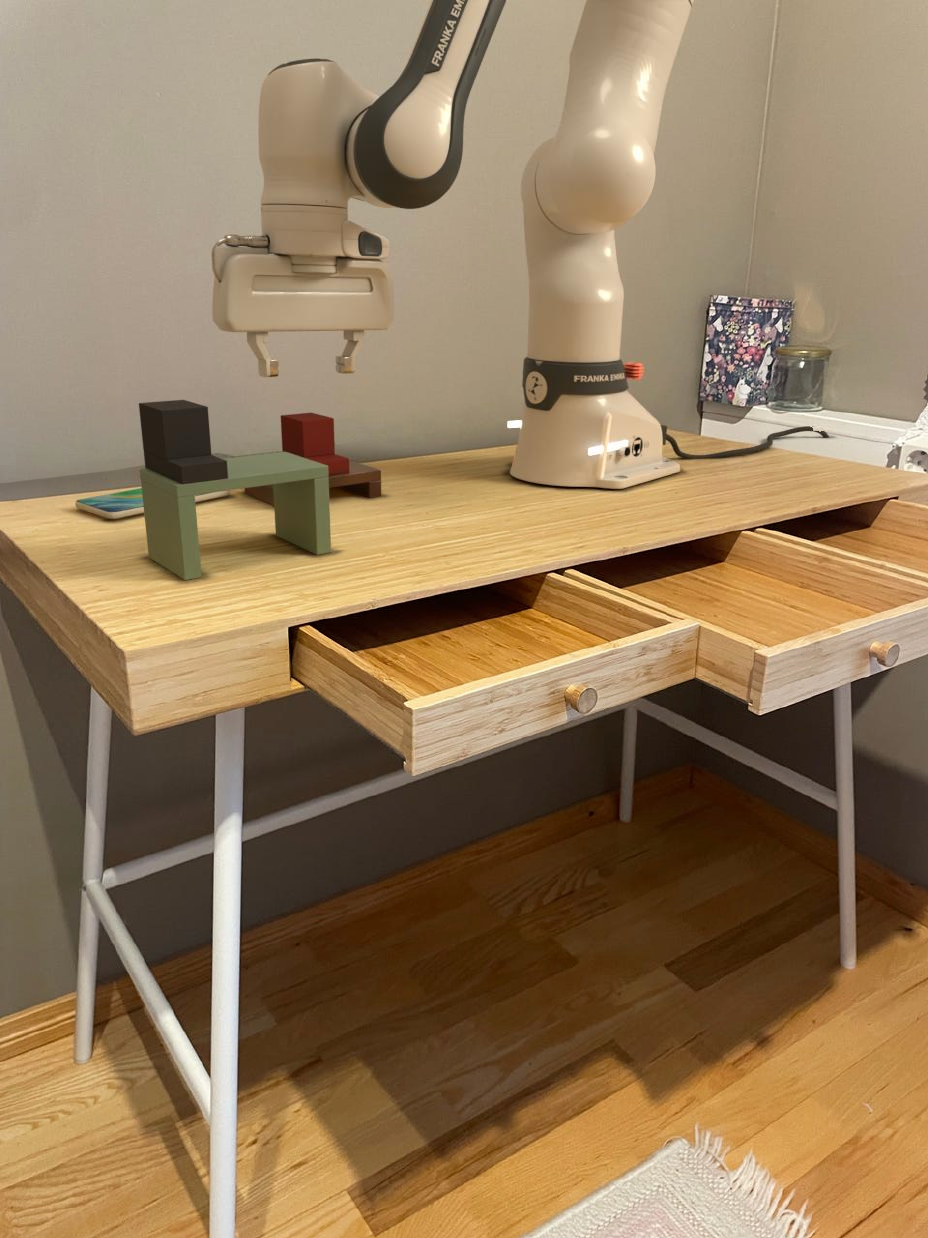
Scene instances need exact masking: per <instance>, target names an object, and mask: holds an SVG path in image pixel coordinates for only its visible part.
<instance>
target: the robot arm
mask: <svg viewBox="0 0 928 1238" xmlns="http://www.w3.org/2000/svg"><path fill="white" fill-rule="evenodd" d="M509 1H510V0H431V1H430V3H429V6H428V8H427V11H426V14H425V15H424V19H423V21H422V23H421V27H420V29H419V32H418V34H417V36H416V39H415V42H414V44H413V47H412V49H411V51H410V55H409V57H408V59H407V62H406V64H405V67H404V69H403V71H401V74H400V76H399V77H398V78H397V79H396V81H395V82H394V83H393V85H391V86H390V87H389V88H388V89H387V90H386V91H384V92H383V93H382V94H381V95H380V96H379V94H376V93H374V92H373V91H371V90H369V89H368V88H366V87H365V86H363V85H361V84H360V83H359V82H358V81H356V80H355V79H354V78H352V77H351V76H350V75H349V74H347V73H346V72H345V71H344V70H343V69H342V68H341V66H340V65H339V64H338V63H337V62H336V61H334V60H331V59H327V58H316V57H315V58H304V59H297V60H291V61H288V62H286V63H281V64H279V65H277V66H276V67H275V68H273V69H272V70H271V71H270V72H269V73H268V74H267V76H266V77H265V78H264V80H263V81H262V85H261V89H260V95H259V102H258V128H257V129H258V159H259V164H260V166H261V170H262V175H263V188H262V193H261V197H260V219H261V220H260V221H261V223H260V225H261V235H239V234H225V235H224V236H223V238H221V239H219V240H218V241H217V242H215V243H214V245H213V247H212V248H211V269H212V273H213V275H214V278H213V287H212V304H211V305H212V307H211V308H212V311H211V312H212V314H211V315H212V321H213V323H214V324H215V326H217V328H218V329H219V330H220V331H223V332H226V333H227V332H228V333H246V343H247V344H248V346H249V347H250V349H251V351H252V352H253V354H254V357H255V358H256V359H257V367H258V368H257V369H258V375H259V376H260V377H261V378H272V377H273V378H275V377H278V376H279V374H280V371H279V369H278V368H279V359H275V358H271V356H270V353H269V351H268V350H267V348H266V346H265V344H268V343H269V333H270V332H271V333H273V332H275V333H276V332H277V333H278V332H280V333H281V332H282V333H283V332H336V331H337V332H338V331H341V332H342V331H343V339H344V340H345V341H347V342H346V344H345V347H344V349H343V352H342V354H341V355H335V363H336V365H335V371H336V373H337V374H354V373H355V372H356V357H357V356H358V354H359V352H360V350H361V348H362V346H363V344H364V343H365V331H386V330H388V329H389V328H390V326H391V324H392V323H393V321H394V318H395V317H394V316H395V296H394V281H393V274H392V270H391V268H390V266H389V265H388V264H387V263H386V261H384V260H385V259H388V258H389V256H390V251H391V248H390V246H391V245H390V241H389V239H388V238H386V237H385V236H383V235H381V234H378V233H377V232H374V231H372V230H370V229H367V228H365V227H363V226H361V225H359V224H358V223H355V222H353V221H352V220H349V219H348V218H349V209H348V207H349V201H350V199H354V200H358V201H362V202H365V203H367V204H369V205H372V206H374V207H377V208H383V209H384V208H385V209H391V208H393V209H395V208H398V209H404V210H416V209H421V208H425V207H428V206H430V205H432V204H434V203H436V202H437V201H439V200H440V199H441V198H442V197H443V196H445V195H446V194H447V193H448V191H449V190H450V189H451V188H452V186H453V184H454V183H455V181H456V179H457V177H458V174H459V172H460V169H461V165H462V159H463V153H464V152H463V151H464V130H465V129H464V127H465V126H464V125H465V116H466V115H465V114H466V110H467V109H466V108H467V104H468V101H469V97H470V95H471V91H472V88H473V86H474V83H475V81H476V79H477V76H478V73H479V70H480V68H481V66H482V63H483V61H484V58H485V56H486V53H487V50H488V48H489V46H490V43H491V39H492V37H493V36H494V35H493V34H494V33H495V30H496V27H497V25H498V22H499V20H500V17H501V15H502V12H503V11H504V9H505V7H506V6H507V4H508V2H509ZM694 2H695V0H585V4H584V7H583V10H582V12H581V16H580V20H579V23H578V27H577V30H576V33H575V37H574V39H573V43H572V46H571V49H570V54H569V62H568V63H569V72H568V78H567V79H568V80H567V86H566V93H565V98H564V103H563V108H562V113H561V117H560V122H559V126H558V129H557V131H556V133H555V135H554V136H553V137H551V138H549V139H547V140H546V141H543V142H542V143H541V144H540V145H539V146H538V147H536V149H535V150H534V151H533V152H532V154H531V156H530V157H529V159H528V161H527V163H526V164H525V166H524V169H523V172H522V176H521V181H520V197H521V201H522V212H523V229H524V230H523V231H524V243H525V245H524V246H525V256H526V264H527V275H528V319H527V320H528V322H527V323H528V324H527V353H526V355H527V356H526V357H524V359H523V365H522V367H523V368H522V380H521V381H522V384H521V385H522V386H521V387H522V391H523V398H524V400H523V407H522V408H523V409H522V411H521V412H522V414H521V419H520V420H508V421H507V428H508V429H512V428H513V429H514V428H519V432H518V439H517V442H516V443H517V444H516V448H515V453H514V456H513V460H512V463H511V466H510V470H509V475H511V476H512V477H513V478H515V479H518V480H522V481H525V482H529V483H534V484H540V485H548V486H555V487H556V486H557V487H572V488H573V487H577V488H578V487H580V488H581V487H583V488H585V487H586V488H601V489H612V490H613V489H614V490H621V489H627V488H629V487H633V486H636V485H639V484H643V483H647V482H649V481H653V480H656V479H659V478H663V477H666V476H669V475H673V474H677V473H679V472H681V465H680V463H678V462H677V461H675V460H672V459H670V458H667V457H664V456H663V447H664V446H666V444H667V443H666V442H668V443H669V444H670V445H671V448H672V450H673V452H674V454H675V455H676V456H677V457H678V458H682V459H684V460H706V459H721V458H727V457H733V456H738V455H746V454H752V453H756V452H760V451H762V450H764V449H765V450H766V449H767V448H770V447H771V446H772V445H773V443H774V439H776V438H781V437H785V436H790V435H792V434H798V433H801V432H802V433H803V432H813V433H817V434H819V435H820V436H822V438H824V439H830V436H829V434H828V433H827V431H825V430H824V431H821V432H819V431H813V428H812V427H813V426H812V427H810V425H806V426H805V425H804V426H798V427H794V428H790V429H789V428H788V429H785V430H782V431H781V430H780V431H776V432H773V433H770V434H769V435H767V438H766V439H767V440H766V441H765V442H764V443H761V444H759V445H758V444H757V445H755V446H750V447H745V448H744V447H743V448H738V449H737V448H736V449H731V450H725V451H720V452H715V453H709V454H690V453H685V452H683V451H682V450H681V449H680V448H679V446H678V445H679V444H678V443H677V441H676V439H675V438H674V437H673V436H671V434H668V433H667V431H668V425H665V424H660V422H659V420H658V419H657V418H655V417H654V415H652V414H651V413H650V412H649V411H648V410H647V409H646V408H645V407H644V406H643V405H642V404H641V403H640V402H639V401H638V400H637V399H636V398H635V397H634V396H633V395H632V394H631V393H630V392H629V391H628V390H629V388H630V387H629V382H628V380H630V379H632V380H636V381H640V380H641V379H642V378H643V377H644V375H645V367H644V364H643V363H642V362H632V361H627V362H626V363H625V364H624V363H623V361H622V359H621V345H622V344H621V343H622V329H623V314H624V299H625V291H624V285H623V282H622V279H621V276H620V271H619V264H618V257H617V248H616V238H615V237H616V236H615V230H617V229H618V228H620V227H622V226H624V225H625V224H626V223H628V221H630V220H632V219H633V218H634V217H635V216H636V215H637V214H638V213H639V212H640V211H641V209H643V208H644V207H645V205H646V204H647V202H648V201H649V198H651V195H652V192H653V189H654V186H655V183H656V175H657V174H656V173H657V171H656V170H657V168H656V161H655V152H656V146H657V141H658V137H659V136H658V135H659V129H660V122H661V115H662V111H663V103H664V99H665V93H666V89H667V85H668V82H669V79H670V75H671V72H672V69H673V66H674V63H675V61H676V57H677V54H678V50H679V47H680V44H681V41H682V38H683V35H684V32H685V29H686V26H687V23H688V20H689V17H690V14H691V12H692V8H693V4H694ZM222 244H224V245H225V246H222Z"/></svg>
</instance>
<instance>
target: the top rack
mask: <svg viewBox="0 0 928 1238" xmlns="http://www.w3.org/2000/svg"><path fill="white" fill-rule="evenodd" d="M223 459H224V460H226V461H227V469H228V479H220V480H212V481H205V482H197V483H189V484H181V483H178V482H176V481H174V480H172V479H170V478H167V477H165V476H163V475H161V474H159V473H156V472H154V471H152V470H150V469H148V468H145V467H143V468H142V467H141V468H139V476H140V485H141V487H140V488H142V497H143V506H144V513H143V515H144V523H145V524H144V525H145V533H146V534H145V535H146V543H147V544H146V545H147V552H148V558H149V559H150V560H152V561H154V562H155V563H157V564H159V565H160V566H162V567H163V568H165V569H166V570H168V571H169V572H171V573H173V575H176V576H177V577H179V578H181V579H182V580H184V581H188V580H193V579H199V578H202V575H203V574H202V565H201V564H202V563H201V554H200V553H201V552H200V541H199V540H200V539H199V528H198V518H197V517H198V516H197V506H196V505H197V503H196V502H195V495H199V494H206V493H213V492H221V491H228V490H229V491H235V490H241V489H243V490H244V488H250V487H257V486H264V485H272V484H273V494H274V505H273V509H274V510H273V511H274V529H275V536H276V537H277V538H280V539H282V540H284V541H287V542H289V543H291V544H292V545H295V546H298V547H300V548H301V549H304V550H306V551H308V552H309V553H312V554H314V555H316V556H319V555H324V554H330V553H332V541H331V540H332V538H331V535H332V534H331V509H330V507H331V506H330V488H329V478H328V476H329V473H328V466H327V465H324V464H321V463H318V462H315V461H312V460H309V459H306V458H303V457H300V456H297V455H294V454H291V453H288V452H282V451H278V452H269V453H260V454H253V455H243V456H236V457H235V456H234V457H227V458H223Z"/></svg>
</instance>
